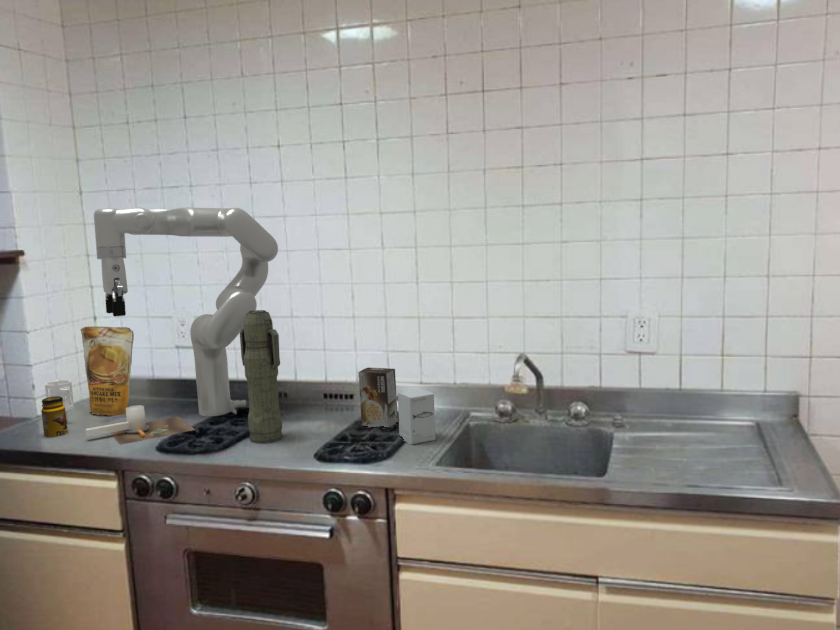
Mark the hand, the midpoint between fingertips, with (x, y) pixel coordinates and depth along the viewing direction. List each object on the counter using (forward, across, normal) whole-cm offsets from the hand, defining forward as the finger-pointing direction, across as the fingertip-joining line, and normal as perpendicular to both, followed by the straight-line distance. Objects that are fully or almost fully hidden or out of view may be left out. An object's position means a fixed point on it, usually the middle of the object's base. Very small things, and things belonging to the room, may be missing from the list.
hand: (115, 314), depth 200 cm
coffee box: (+33, -42, -60) cm, 81 cm away
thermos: (+34, -32, -30) cm, 56 cm away
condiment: (+35, +8, +18) cm, 40 cm away
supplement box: (+33, -60, -61) cm, 92 cm away
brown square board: (+34, -7, -6) cm, 36 cm away
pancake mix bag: (+35, +27, -2) cm, 44 cm away
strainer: (+35, +20, +14) cm, 43 cm away
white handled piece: (+33, -8, +3) cm, 34 cm away
